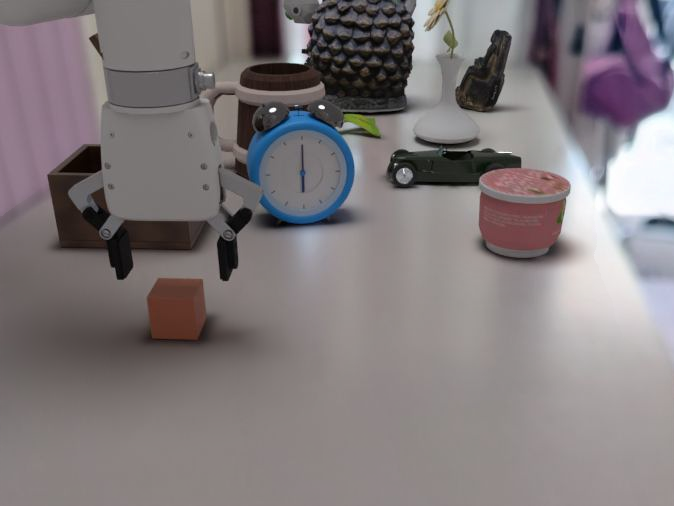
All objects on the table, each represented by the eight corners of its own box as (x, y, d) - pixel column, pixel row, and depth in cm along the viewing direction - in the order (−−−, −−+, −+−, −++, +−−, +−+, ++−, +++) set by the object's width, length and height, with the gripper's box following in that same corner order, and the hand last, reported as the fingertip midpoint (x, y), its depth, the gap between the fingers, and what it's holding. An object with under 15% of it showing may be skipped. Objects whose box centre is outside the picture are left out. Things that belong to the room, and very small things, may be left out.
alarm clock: (253, 229, 101) (246, 109, 93) (249, 213, 106) (241, 97, 99) (355, 222, 103) (356, 104, 96) (345, 206, 108) (345, 93, 101)
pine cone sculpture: (412, 100, 164) (417, -35, 151) (415, 118, 150) (422, -28, 138) (310, 99, 164) (307, -36, 151) (305, 117, 151) (302, -29, 138)
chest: (60, 247, 96) (46, 174, 91) (94, 210, 107) (83, 143, 102) (191, 249, 95) (183, 177, 91) (211, 212, 106) (206, 145, 102)
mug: (339, 158, 127) (339, 60, 120) (324, 189, 114) (323, 81, 107) (218, 153, 130) (210, 56, 122) (190, 183, 117) (179, 76, 109)
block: (151, 339, 76) (146, 297, 74) (163, 317, 80) (158, 277, 78) (197, 340, 76) (193, 298, 74) (206, 318, 80) (202, 278, 78)
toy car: (384, 169, 123) (385, 137, 120) (514, 170, 123) (518, 138, 120) (387, 189, 114) (388, 155, 112) (526, 190, 115) (530, 156, 112)
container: (506, 268, 91) (514, 201, 87) (457, 237, 99) (462, 174, 95) (580, 253, 95) (590, 188, 91) (526, 224, 103) (534, 163, 99)
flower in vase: (422, 129, 144) (429, -24, 131) (484, 134, 140) (498, -22, 128) (401, 148, 133) (407, -17, 121) (469, 154, 130) (482, -14, 117)
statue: (462, 101, 163) (467, 22, 155) (511, 111, 155) (519, 29, 148) (444, 106, 159) (450, 25, 152) (494, 116, 152) (502, 32, 144)
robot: (361, 108, 186) (259, 37, 188) (397, 49, 180) (291, -23, 183) (348, 105, 175) (239, 30, 177) (386, 42, 169) (273, -35, 172)
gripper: (262, 78, 69) (272, 259, 78) (66, 77, 70) (98, 258, 79) (249, 97, 63) (262, 293, 71) (33, 96, 64) (71, 290, 72)
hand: (176, 274), depth 75 cm, fingers open, 9 cm apart
